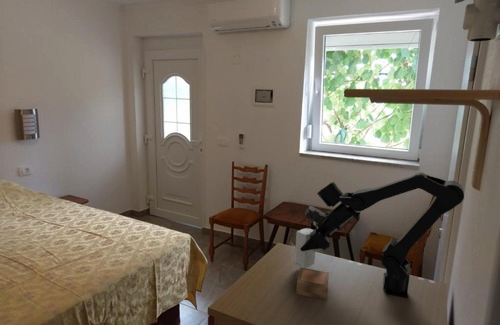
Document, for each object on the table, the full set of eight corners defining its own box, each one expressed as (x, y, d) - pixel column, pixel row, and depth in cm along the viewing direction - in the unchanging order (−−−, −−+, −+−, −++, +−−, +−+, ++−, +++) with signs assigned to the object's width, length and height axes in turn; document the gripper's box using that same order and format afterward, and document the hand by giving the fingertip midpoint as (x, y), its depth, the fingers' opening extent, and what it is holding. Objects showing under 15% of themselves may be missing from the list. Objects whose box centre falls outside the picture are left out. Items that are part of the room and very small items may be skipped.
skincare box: (304, 269, 111) (306, 235, 109) (293, 264, 114) (295, 231, 112) (315, 263, 115) (317, 230, 113) (304, 259, 118) (306, 227, 116)
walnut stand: (328, 283, 106) (329, 271, 106) (326, 299, 98) (327, 286, 97) (299, 279, 109) (300, 267, 108) (296, 294, 100) (297, 281, 99)
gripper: (320, 192, 119) (287, 219, 123) (320, 208, 101) (282, 238, 105) (341, 215, 119) (308, 241, 123) (345, 235, 101) (306, 265, 105)
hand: (301, 245), depth 114 cm, fingers closed on skincare box, 7 cm apart
